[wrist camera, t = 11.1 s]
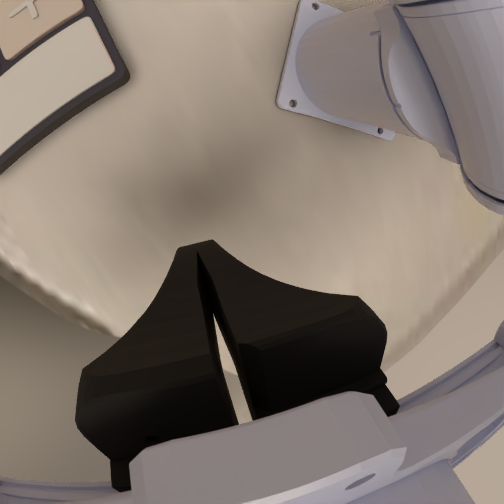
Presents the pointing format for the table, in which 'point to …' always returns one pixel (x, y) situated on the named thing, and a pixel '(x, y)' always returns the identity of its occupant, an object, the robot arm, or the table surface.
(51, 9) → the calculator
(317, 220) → the table surface
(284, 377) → the robot arm
